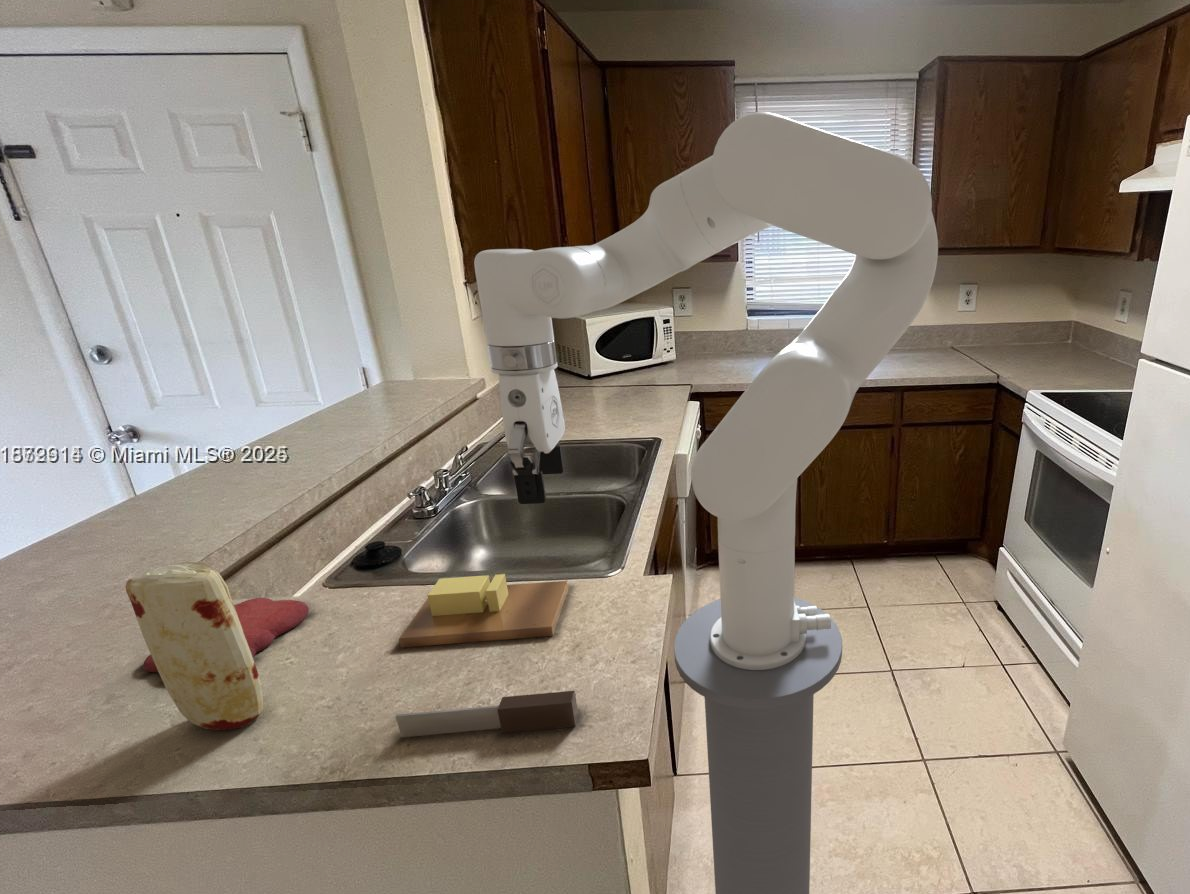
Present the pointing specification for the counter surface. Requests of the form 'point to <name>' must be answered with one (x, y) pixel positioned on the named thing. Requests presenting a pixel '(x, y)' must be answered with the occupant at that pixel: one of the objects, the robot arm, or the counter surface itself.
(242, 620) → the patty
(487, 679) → the counter surface
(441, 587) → the butter
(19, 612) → the counter surface
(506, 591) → the butter pat
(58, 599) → the counter surface
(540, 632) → the cutting board
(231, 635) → the food model
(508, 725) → the knife
